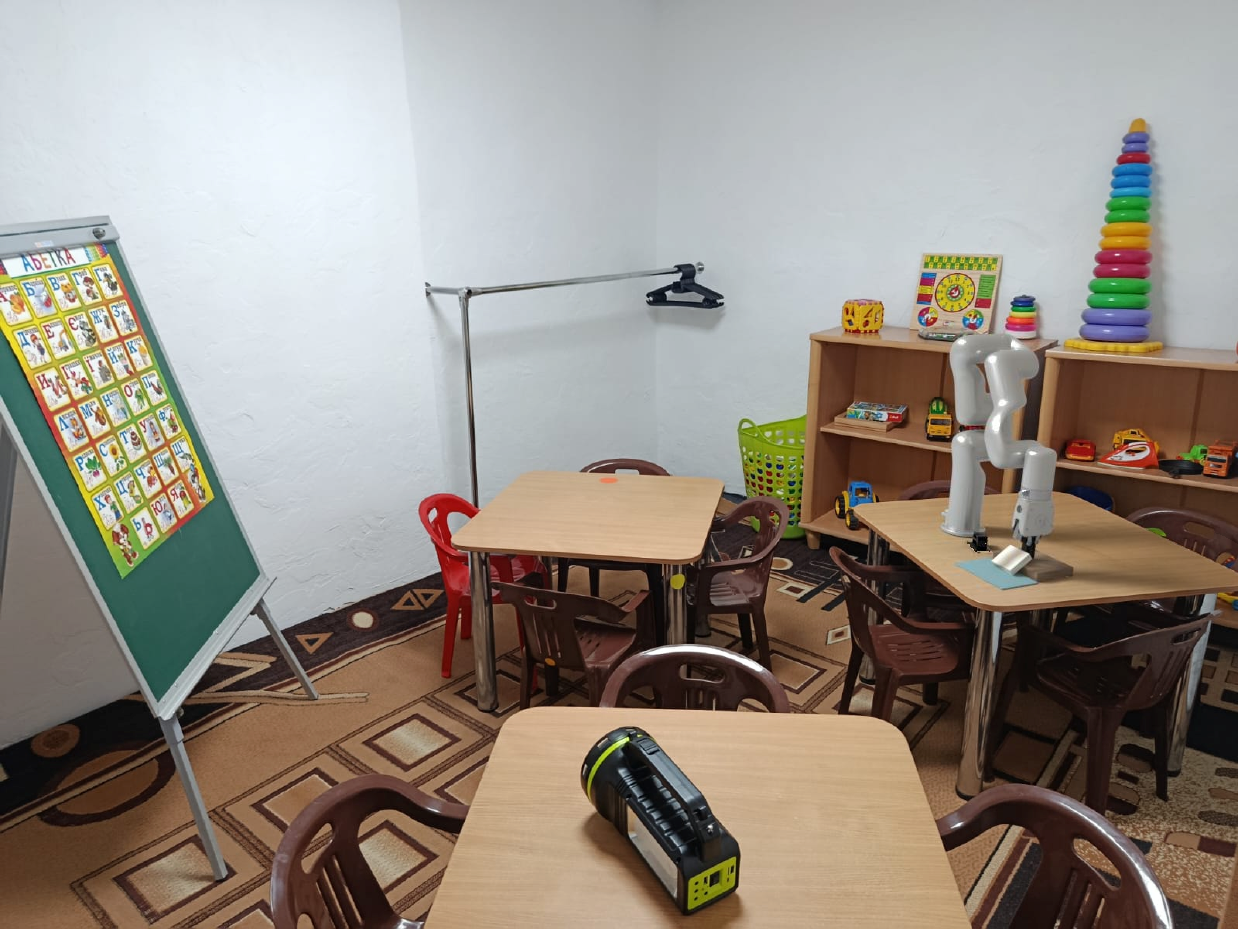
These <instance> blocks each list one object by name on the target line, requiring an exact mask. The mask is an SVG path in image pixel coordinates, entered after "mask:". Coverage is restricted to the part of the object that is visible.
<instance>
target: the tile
mask: <svg viewBox="0 0 1238 929" xmlns="http://www.w3.org/2000/svg"><path fill="white" fill-rule="evenodd" d="M1018 548H1019V547H1015V546H1013V545H1012V544H1009V545H1008V546H1007V547H1005V549H1002V550H1003V551H1002V552H1001V553H1000V554H999V555H998V556H996V557H995V558H994V559H993V558H992V559H993V560H992V563H993V565H994V566H995V567H997V568H999V569H1001V570H1003V571H1005V572H1007V573H1009V574H1011V575H1014V574H1015V573H1016V572H1018V571H1019V570H1020V569H1021V568H1022V567H1023V566H1025V565H1026V564H1027V563H1028V562H1029V561H1030V560H1032V558H1031V556H1030V554H1028V553H1026V552H1024V551H1022V550H1020V549H1018Z"/></svg>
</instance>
